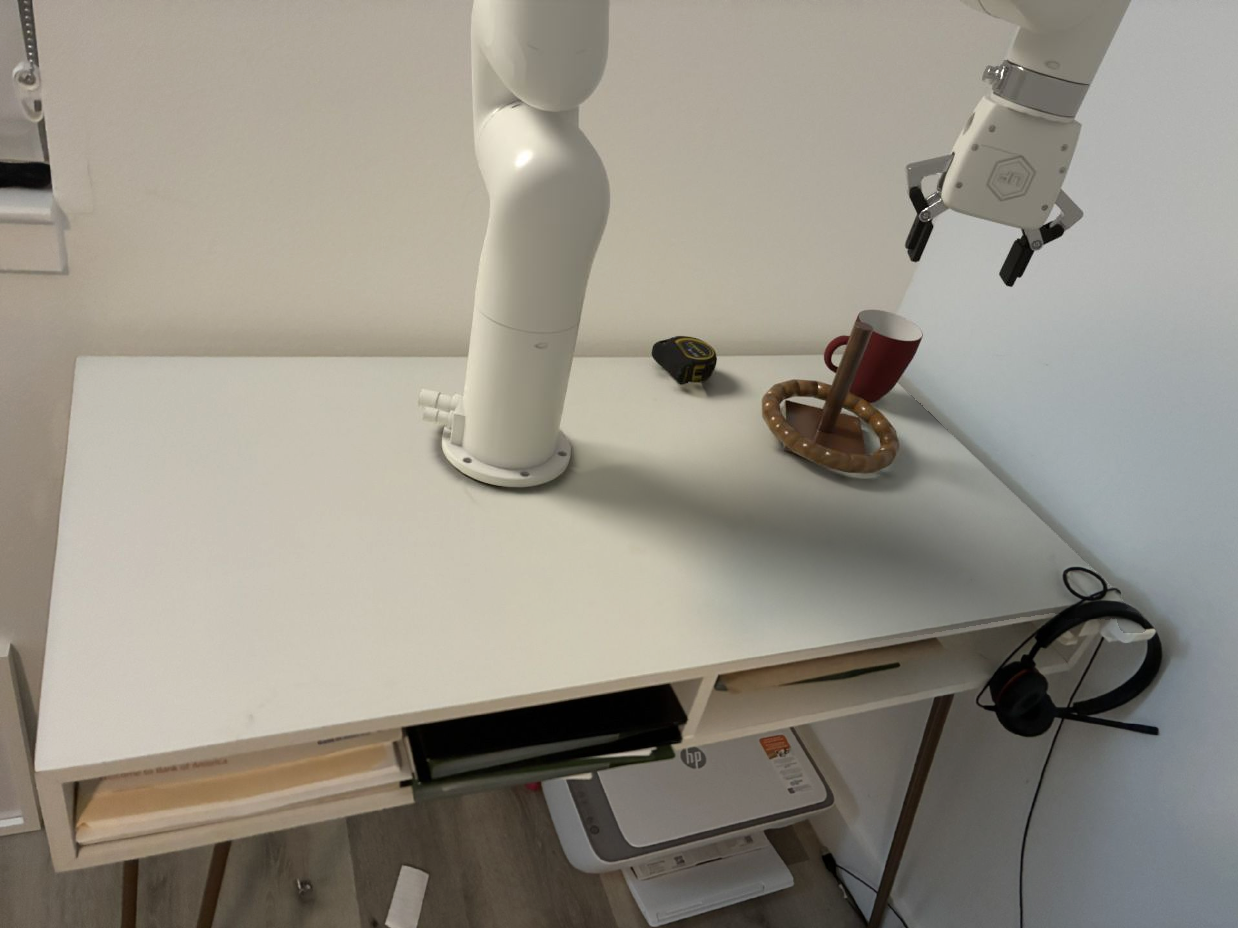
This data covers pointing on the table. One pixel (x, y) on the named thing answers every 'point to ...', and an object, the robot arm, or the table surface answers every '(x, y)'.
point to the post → (834, 404)
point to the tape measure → (685, 358)
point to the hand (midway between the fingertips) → (958, 269)
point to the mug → (880, 353)
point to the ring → (817, 451)
